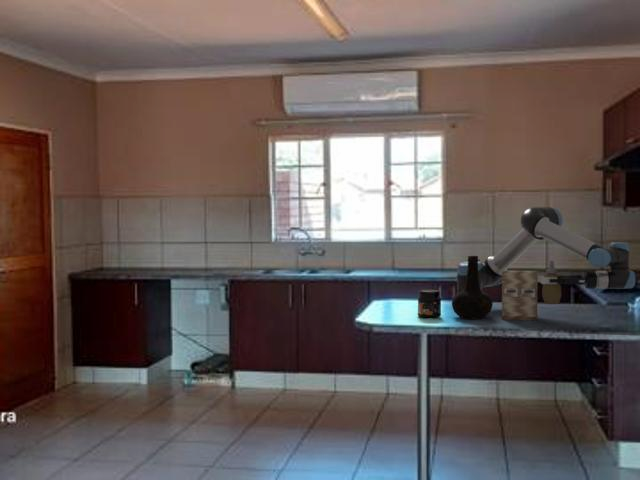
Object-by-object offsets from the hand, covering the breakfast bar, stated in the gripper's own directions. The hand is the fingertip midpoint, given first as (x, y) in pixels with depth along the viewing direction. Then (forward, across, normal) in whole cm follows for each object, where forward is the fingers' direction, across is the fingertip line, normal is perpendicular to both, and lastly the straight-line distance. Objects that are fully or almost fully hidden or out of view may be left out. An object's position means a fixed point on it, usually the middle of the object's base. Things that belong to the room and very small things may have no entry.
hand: (539, 279), depth 321 cm
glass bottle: (+27, +15, -19) cm, 36 cm away
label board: (+6, +13, -19) cm, 24 cm away
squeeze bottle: (-5, 0, -10) cm, 11 cm away
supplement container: (+46, +17, -19) cm, 52 cm away
